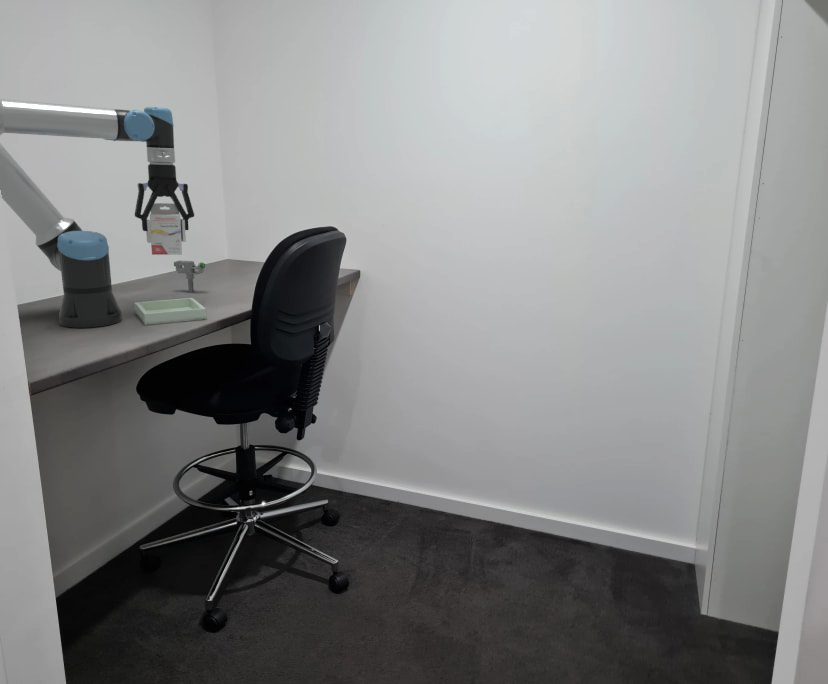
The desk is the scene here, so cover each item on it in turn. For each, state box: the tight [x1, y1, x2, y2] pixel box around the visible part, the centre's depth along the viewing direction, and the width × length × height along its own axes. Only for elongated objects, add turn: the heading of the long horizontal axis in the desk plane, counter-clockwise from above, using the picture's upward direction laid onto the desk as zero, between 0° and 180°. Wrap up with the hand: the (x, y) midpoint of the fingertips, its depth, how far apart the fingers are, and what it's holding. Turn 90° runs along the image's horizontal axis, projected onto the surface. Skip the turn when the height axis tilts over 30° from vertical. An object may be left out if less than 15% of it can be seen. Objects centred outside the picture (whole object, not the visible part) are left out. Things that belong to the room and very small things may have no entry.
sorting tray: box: [134, 297, 207, 326], centre depth 187 cm, size 16×16×3 cm
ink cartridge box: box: [149, 202, 183, 256], centre depth 199 cm, size 9×5×15 cm, turn 108°
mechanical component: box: [173, 260, 206, 293], centre depth 219 cm, size 3×10×10 cm, turn 78°
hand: (166, 241), depth 200 cm, fingers closed on ink cartridge box, 9 cm apart
